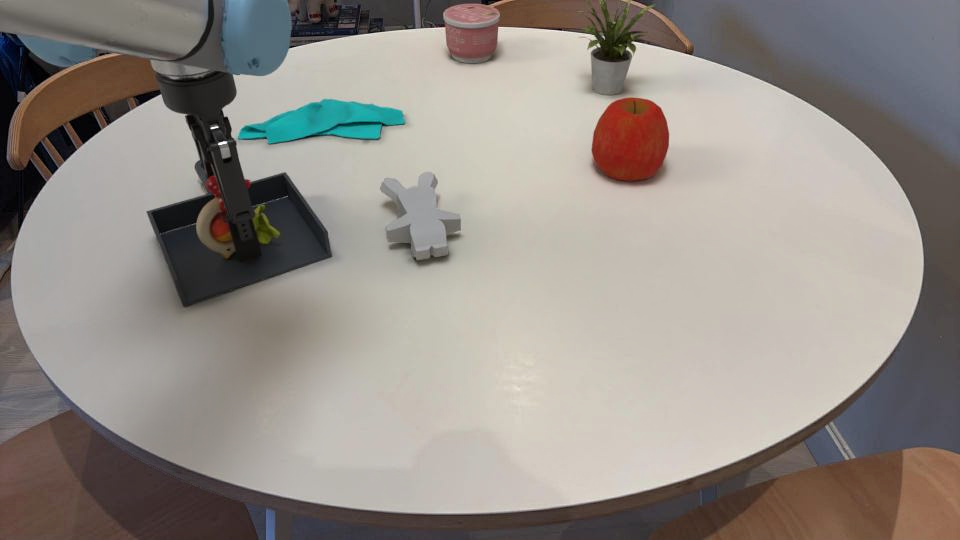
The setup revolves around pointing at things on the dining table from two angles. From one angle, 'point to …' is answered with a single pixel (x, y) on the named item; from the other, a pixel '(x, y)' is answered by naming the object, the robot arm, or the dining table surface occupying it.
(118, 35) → the robot arm
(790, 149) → the dining table surface
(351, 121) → the cloth
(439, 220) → the bunny figurine
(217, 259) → the scoop
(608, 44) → the house plant
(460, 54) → the container
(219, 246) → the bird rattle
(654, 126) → the apple
